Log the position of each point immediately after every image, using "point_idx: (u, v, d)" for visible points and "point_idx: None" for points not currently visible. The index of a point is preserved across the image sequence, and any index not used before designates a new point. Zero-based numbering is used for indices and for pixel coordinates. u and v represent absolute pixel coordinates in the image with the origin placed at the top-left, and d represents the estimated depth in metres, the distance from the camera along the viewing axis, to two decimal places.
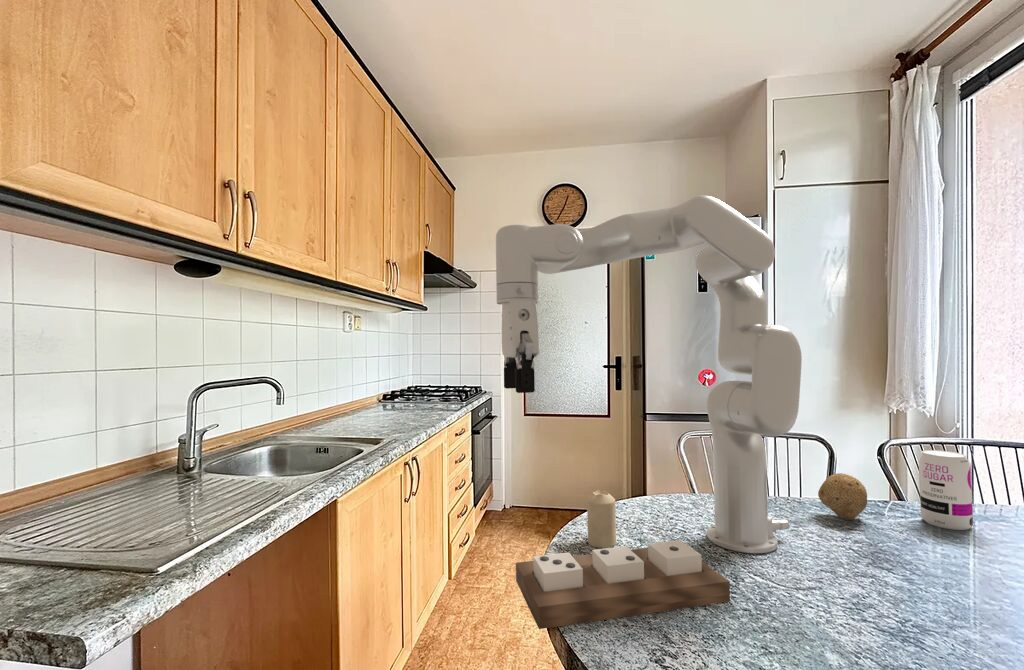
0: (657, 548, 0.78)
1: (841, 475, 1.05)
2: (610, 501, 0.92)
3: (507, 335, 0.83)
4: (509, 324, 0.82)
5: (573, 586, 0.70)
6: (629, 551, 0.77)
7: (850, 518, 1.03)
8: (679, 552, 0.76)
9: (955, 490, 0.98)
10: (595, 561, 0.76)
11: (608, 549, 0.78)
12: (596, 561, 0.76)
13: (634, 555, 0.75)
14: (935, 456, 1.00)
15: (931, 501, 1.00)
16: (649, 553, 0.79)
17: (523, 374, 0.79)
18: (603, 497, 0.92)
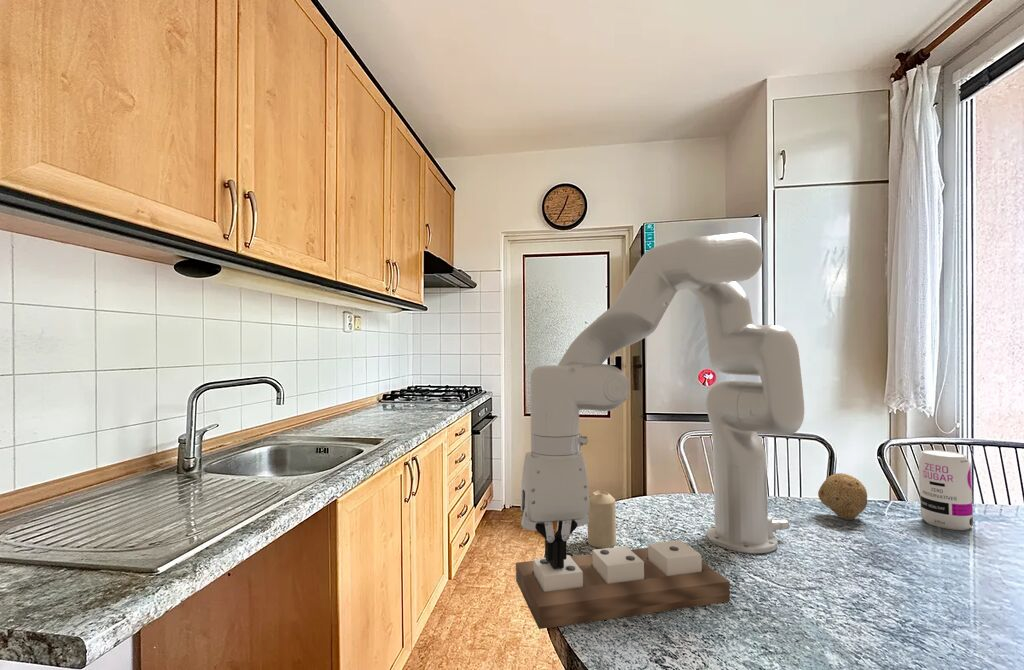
0: (657, 548, 0.78)
1: (841, 475, 1.05)
2: (610, 501, 0.92)
3: (573, 496, 0.72)
4: (580, 483, 0.72)
5: None
6: (629, 551, 0.77)
7: (850, 518, 1.03)
8: (679, 552, 0.76)
9: (955, 490, 0.98)
10: (595, 561, 0.76)
11: (608, 549, 0.78)
12: (596, 561, 0.76)
13: (634, 555, 0.75)
14: (935, 456, 1.00)
15: (931, 501, 1.00)
16: (649, 553, 0.79)
17: None
18: (603, 497, 0.92)
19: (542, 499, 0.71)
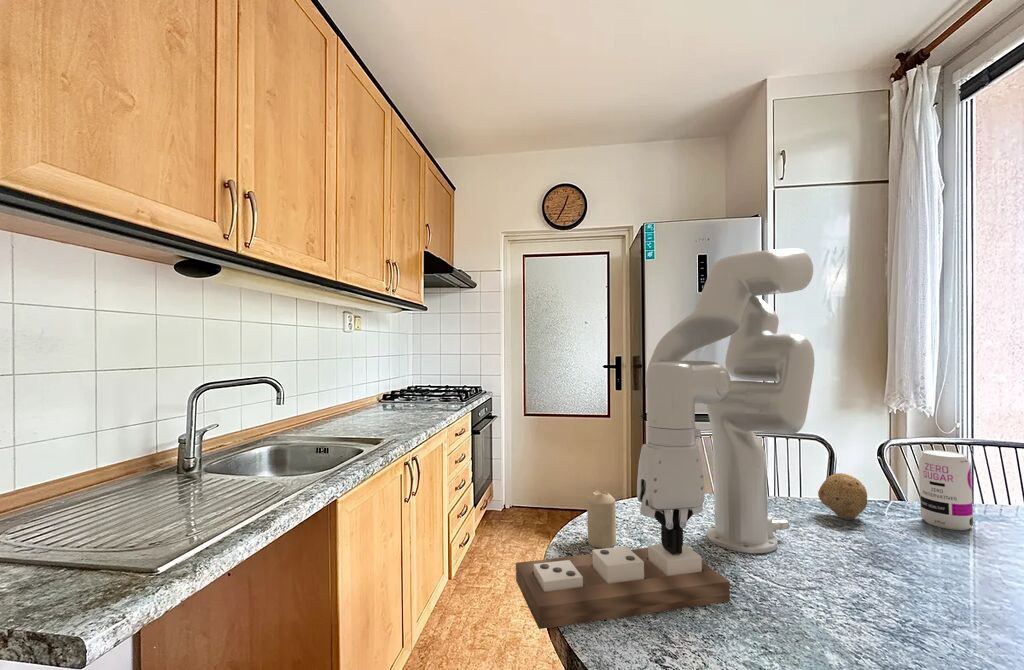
0: (657, 549, 0.78)
1: (841, 475, 1.05)
2: (610, 501, 0.92)
3: (691, 485, 0.76)
4: (697, 473, 0.76)
5: None
6: (629, 551, 0.77)
7: (850, 518, 1.03)
8: (679, 554, 0.76)
9: (956, 490, 0.98)
10: (595, 561, 0.76)
11: (608, 549, 0.78)
12: (596, 561, 0.76)
13: (634, 555, 0.75)
14: (935, 456, 1.00)
15: (931, 501, 1.00)
16: (650, 554, 0.79)
17: None
18: (603, 497, 0.92)
19: (663, 488, 0.75)
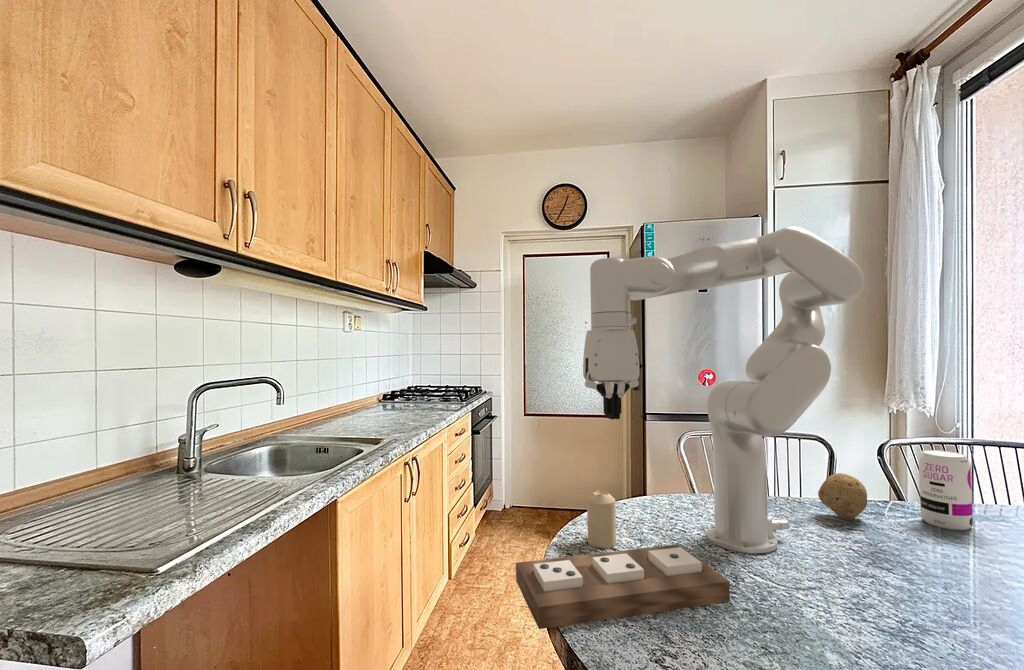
0: (657, 555, 0.78)
1: (841, 475, 1.05)
2: (610, 501, 0.92)
3: (627, 360, 0.89)
4: (632, 351, 0.90)
5: None
6: (629, 559, 0.77)
7: (850, 518, 1.03)
8: (679, 560, 0.76)
9: (955, 490, 0.98)
10: (595, 568, 0.76)
11: (608, 556, 0.78)
12: (596, 569, 0.76)
13: (634, 563, 0.75)
14: (935, 456, 1.00)
15: (931, 501, 1.00)
16: (650, 560, 0.79)
17: None
18: (603, 497, 0.92)
19: (603, 362, 0.88)
